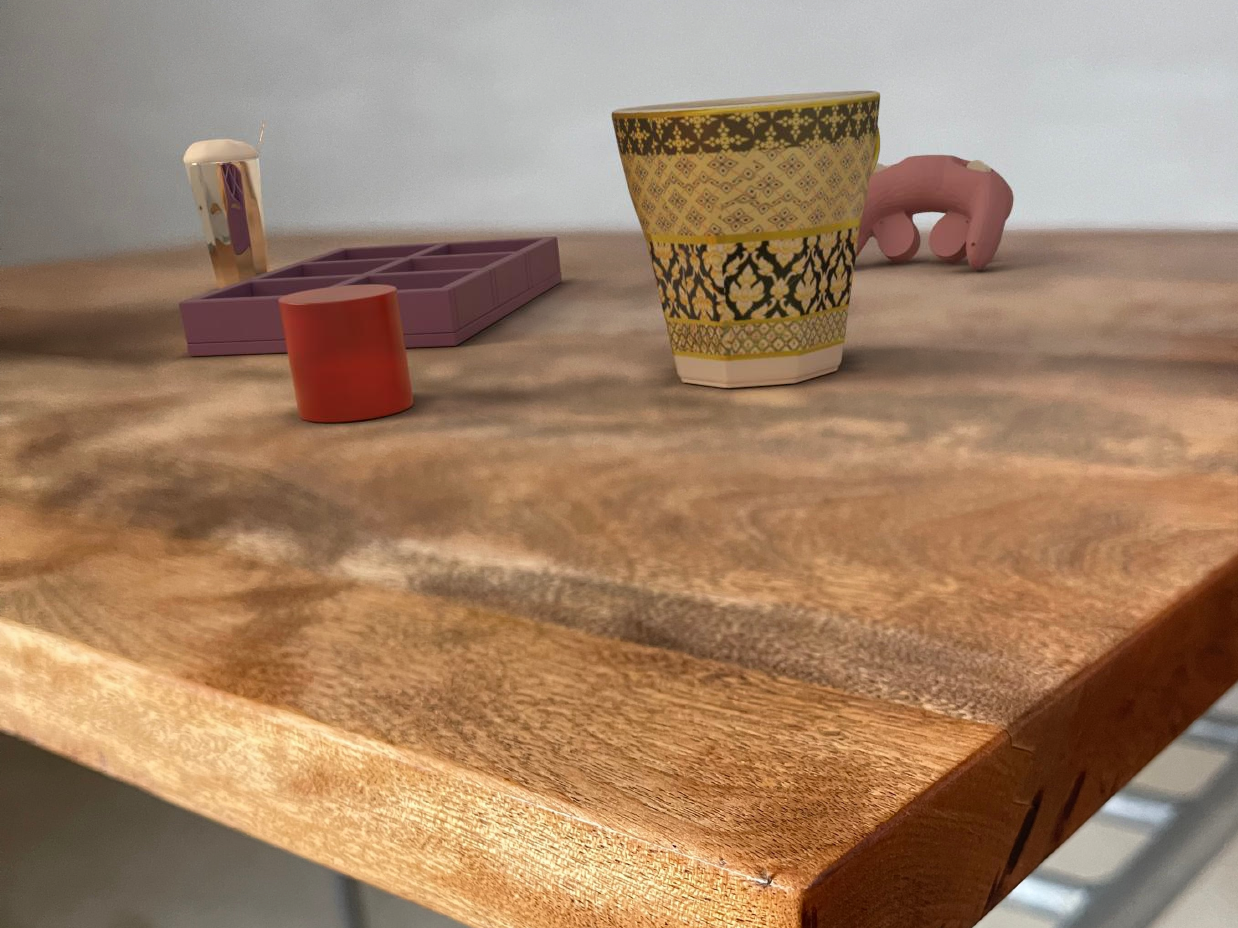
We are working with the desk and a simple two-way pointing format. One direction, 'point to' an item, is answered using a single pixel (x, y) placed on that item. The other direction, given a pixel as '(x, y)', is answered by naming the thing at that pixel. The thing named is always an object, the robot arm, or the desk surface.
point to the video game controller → (937, 208)
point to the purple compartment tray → (422, 273)
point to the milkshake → (229, 206)
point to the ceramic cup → (752, 227)
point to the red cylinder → (346, 352)
